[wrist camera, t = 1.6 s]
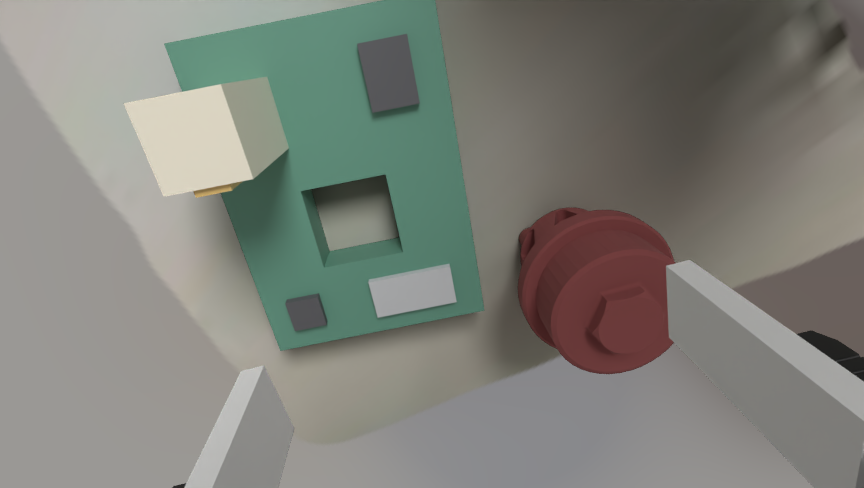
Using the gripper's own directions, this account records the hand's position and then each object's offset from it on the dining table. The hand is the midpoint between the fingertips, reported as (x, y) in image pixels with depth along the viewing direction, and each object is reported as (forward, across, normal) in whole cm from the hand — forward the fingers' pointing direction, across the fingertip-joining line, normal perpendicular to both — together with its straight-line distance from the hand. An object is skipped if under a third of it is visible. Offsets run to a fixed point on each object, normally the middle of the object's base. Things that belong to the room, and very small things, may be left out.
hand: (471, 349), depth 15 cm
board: (+21, -6, +1) cm, 22 cm away
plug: (+18, -10, +8) cm, 22 cm away
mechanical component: (+21, +9, -8) cm, 24 cm away
